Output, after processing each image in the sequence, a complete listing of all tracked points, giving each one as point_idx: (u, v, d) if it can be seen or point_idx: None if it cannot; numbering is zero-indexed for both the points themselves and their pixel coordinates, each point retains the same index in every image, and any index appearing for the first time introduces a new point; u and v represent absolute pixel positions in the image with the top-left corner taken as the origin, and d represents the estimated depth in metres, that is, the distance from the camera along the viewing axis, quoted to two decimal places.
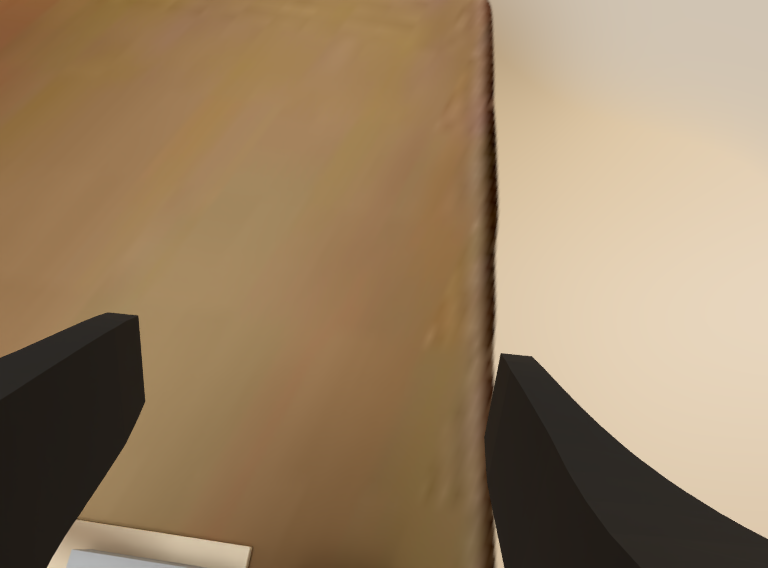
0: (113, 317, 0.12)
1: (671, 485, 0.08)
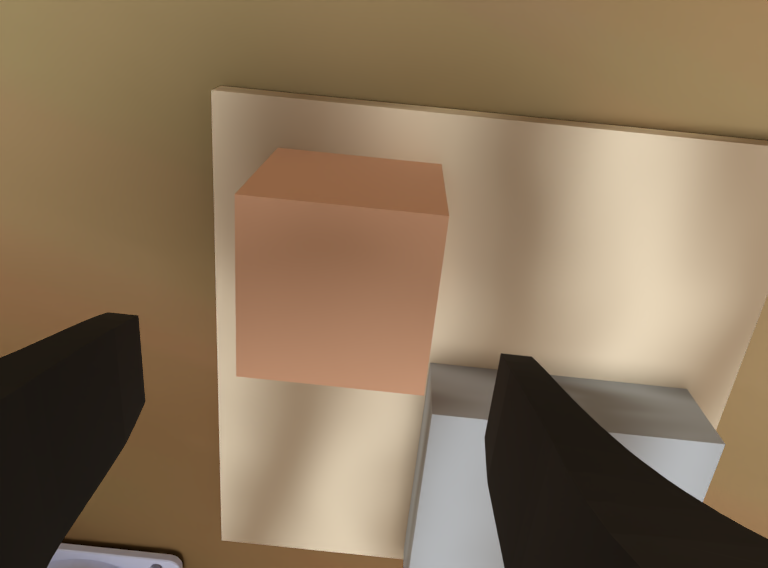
0: (113, 317, 0.12)
1: (671, 485, 0.08)
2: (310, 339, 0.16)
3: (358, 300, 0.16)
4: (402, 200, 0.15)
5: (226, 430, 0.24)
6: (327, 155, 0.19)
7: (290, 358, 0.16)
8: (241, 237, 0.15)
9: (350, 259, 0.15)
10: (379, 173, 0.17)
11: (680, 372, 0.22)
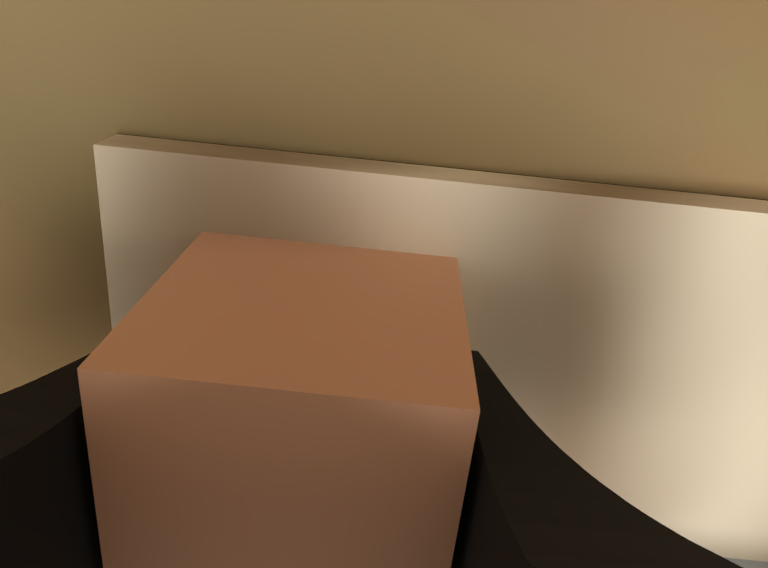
0: None
1: (588, 476, 0.08)
2: None
3: (315, 537, 0.09)
4: (393, 365, 0.09)
5: None
6: (278, 246, 0.12)
7: None
8: (97, 438, 0.08)
9: (297, 476, 0.08)
10: (357, 287, 0.11)
11: None
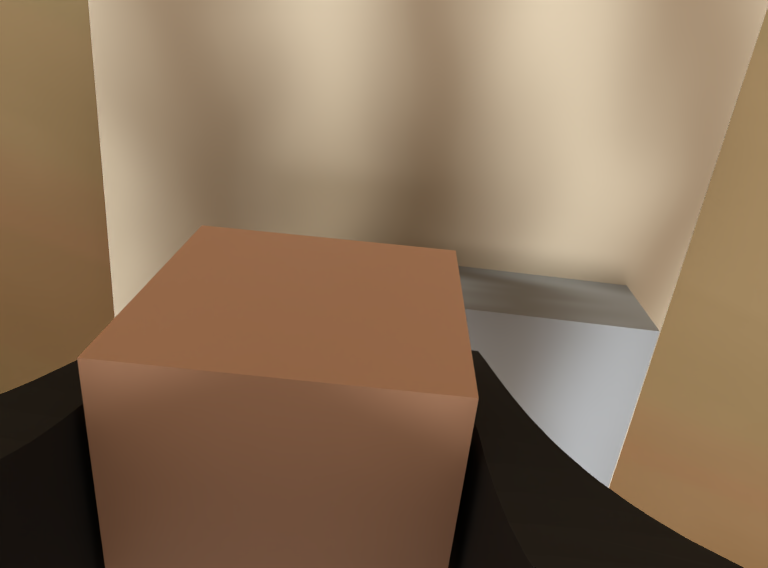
0: None
1: (588, 477, 0.08)
2: None
3: (315, 527, 0.09)
4: (392, 354, 0.09)
5: None
6: (277, 239, 0.12)
7: None
8: (98, 428, 0.08)
9: (298, 464, 0.08)
10: (356, 279, 0.11)
11: (619, 265, 0.20)
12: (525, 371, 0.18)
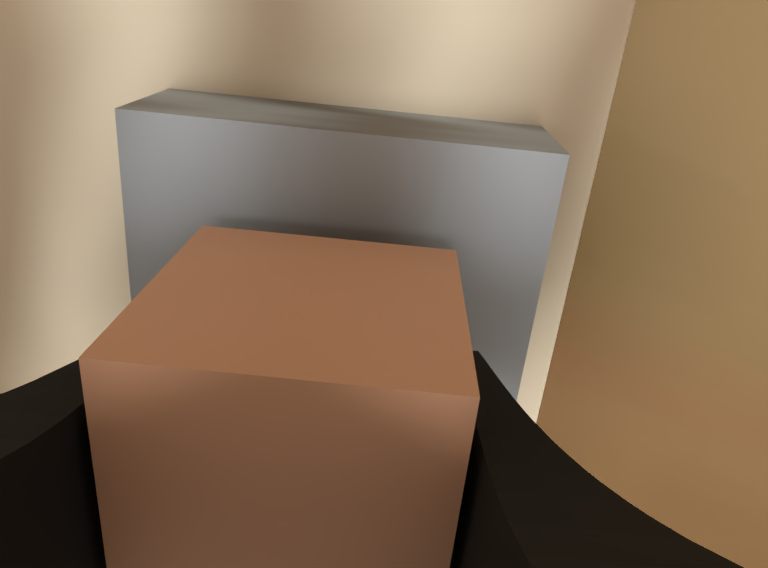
0: None
1: (588, 476, 0.08)
2: None
3: (317, 527, 0.09)
4: (393, 354, 0.09)
5: None
6: (278, 239, 0.12)
7: None
8: (99, 428, 0.08)
9: (298, 465, 0.08)
10: (357, 279, 0.11)
11: (530, 97, 0.15)
12: (392, 221, 0.13)
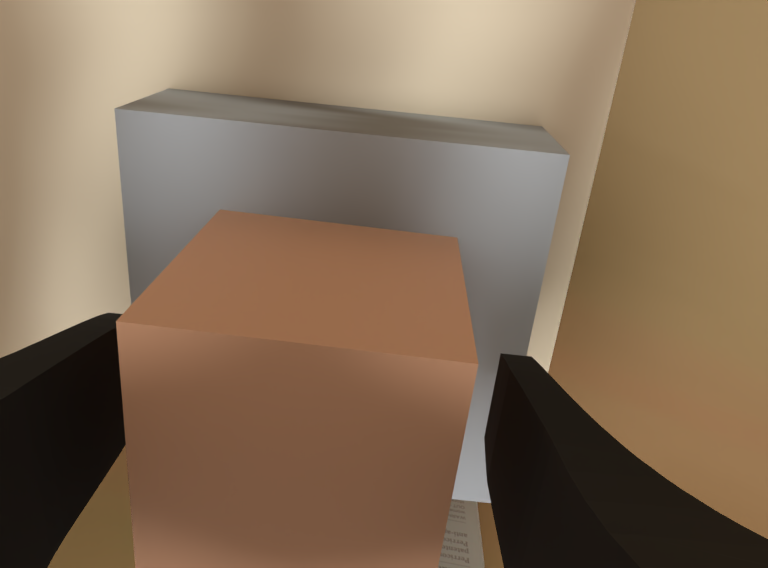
0: (113, 317, 0.12)
1: (670, 485, 0.08)
2: (249, 534, 0.10)
3: (327, 482, 0.10)
4: (400, 325, 0.09)
5: None
6: (290, 223, 0.13)
7: (220, 558, 0.10)
8: (131, 387, 0.09)
9: (312, 424, 0.09)
10: (365, 260, 0.12)
11: (530, 97, 0.15)
12: (392, 220, 0.13)
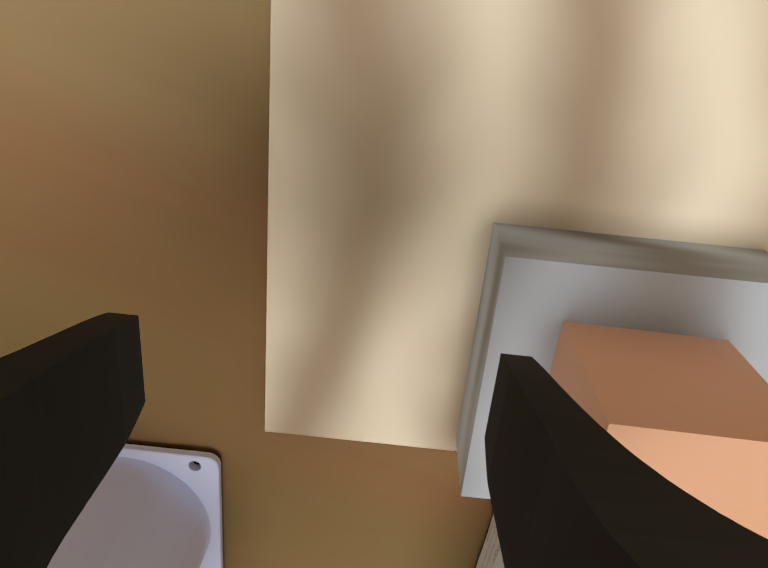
0: (113, 317, 0.12)
1: (671, 485, 0.08)
2: None
3: None
4: (761, 421, 0.15)
5: (274, 304, 0.23)
6: (618, 333, 0.19)
7: None
8: None
9: (711, 483, 0.15)
10: (693, 365, 0.17)
11: (759, 230, 0.21)
12: (684, 329, 0.19)
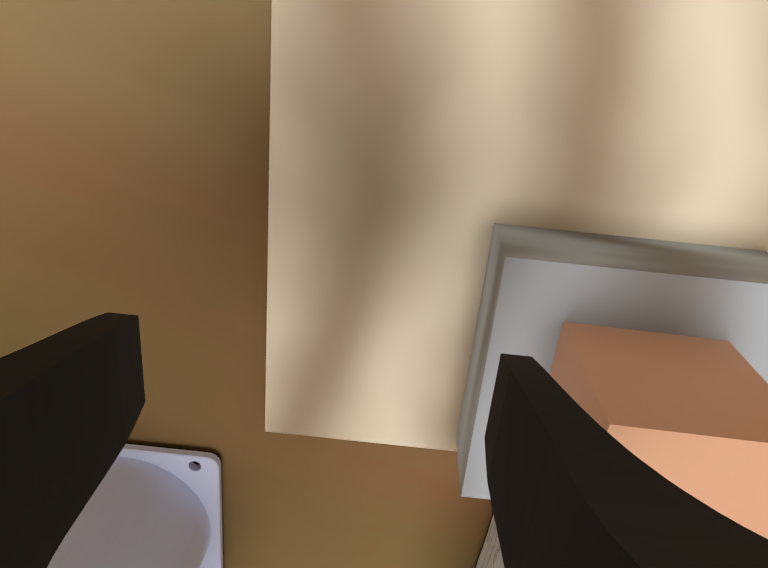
0: (113, 317, 0.12)
1: (671, 485, 0.08)
2: None
3: None
4: (761, 422, 0.15)
5: (274, 304, 0.23)
6: (618, 333, 0.19)
7: None
8: None
9: (712, 484, 0.15)
10: (693, 366, 0.17)
11: (759, 231, 0.21)
12: (684, 330, 0.19)
